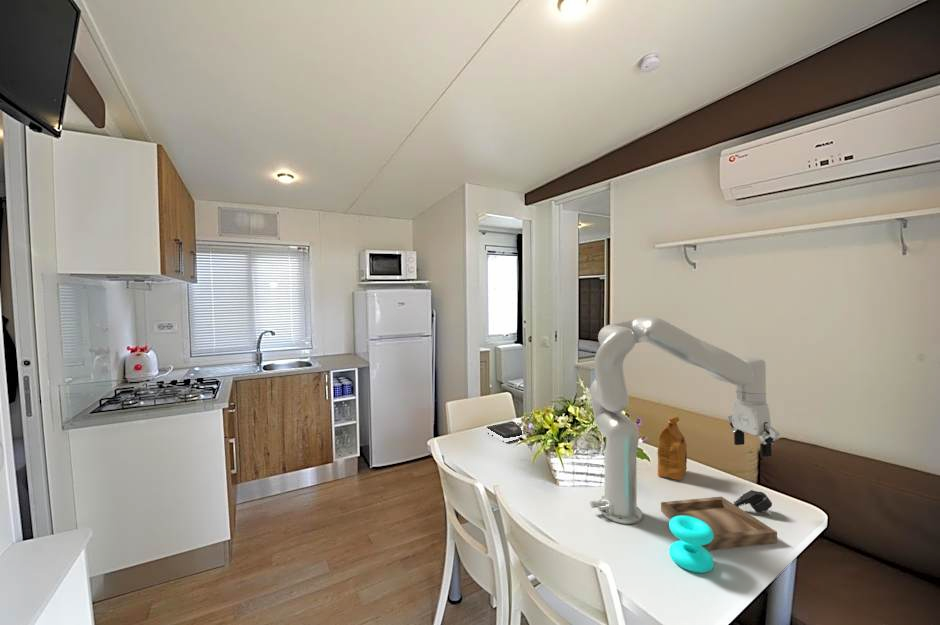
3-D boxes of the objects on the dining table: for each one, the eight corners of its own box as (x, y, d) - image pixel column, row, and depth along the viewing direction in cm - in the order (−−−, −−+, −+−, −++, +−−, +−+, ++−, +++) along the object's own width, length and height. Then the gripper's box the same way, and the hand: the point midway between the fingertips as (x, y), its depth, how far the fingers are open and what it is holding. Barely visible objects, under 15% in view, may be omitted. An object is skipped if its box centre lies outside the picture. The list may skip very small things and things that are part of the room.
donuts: (713, 519, 100) (714, 540, 91) (713, 557, 100) (714, 580, 92) (670, 509, 105) (667, 527, 97) (670, 544, 105) (667, 566, 97)
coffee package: (691, 472, 149) (691, 417, 148) (682, 484, 140) (681, 425, 139) (664, 465, 156) (663, 412, 155) (653, 476, 147) (653, 419, 146)
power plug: (722, 502, 125) (755, 483, 123) (737, 521, 125) (771, 503, 122) (730, 511, 120) (765, 492, 118) (746, 532, 119) (781, 513, 117)
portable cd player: (532, 437, 193) (532, 429, 192) (505, 444, 184) (505, 435, 184) (513, 428, 207) (513, 421, 207) (487, 434, 198) (486, 426, 198)
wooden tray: (706, 550, 103) (706, 539, 102) (661, 511, 122) (660, 502, 122) (777, 542, 105) (777, 531, 105) (721, 505, 125) (721, 496, 125)
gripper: (719, 391, 128) (720, 441, 128) (765, 404, 111) (766, 462, 111) (739, 389, 129) (739, 439, 129) (787, 402, 112) (788, 460, 112)
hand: (752, 450), depth 120 cm, fingers open, 9 cm apart
